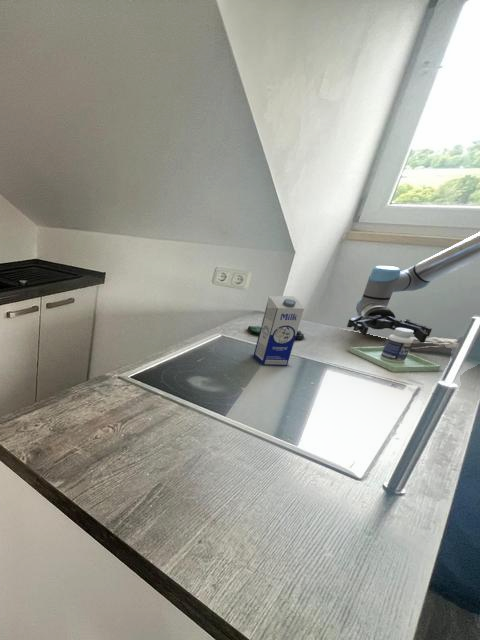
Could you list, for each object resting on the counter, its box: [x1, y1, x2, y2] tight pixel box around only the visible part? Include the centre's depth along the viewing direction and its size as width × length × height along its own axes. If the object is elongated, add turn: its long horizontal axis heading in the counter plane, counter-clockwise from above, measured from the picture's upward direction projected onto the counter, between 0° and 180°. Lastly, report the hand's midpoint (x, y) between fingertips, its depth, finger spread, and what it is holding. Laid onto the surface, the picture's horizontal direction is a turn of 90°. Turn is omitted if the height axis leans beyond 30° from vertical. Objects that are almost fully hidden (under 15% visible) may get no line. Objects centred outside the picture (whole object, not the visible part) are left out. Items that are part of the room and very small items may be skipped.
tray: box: [349, 346, 442, 373], centre depth 119 cm, size 15×13×2 cm
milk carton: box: [253, 295, 305, 366], centre depth 117 cm, size 7×7×20 cm
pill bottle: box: [381, 328, 414, 363], centre depth 117 cm, size 5×5×10 cm
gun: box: [247, 325, 305, 341], centre depth 141 cm, size 16×2×10 cm
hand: (394, 335), depth 121 cm, fingers open, 13 cm apart
